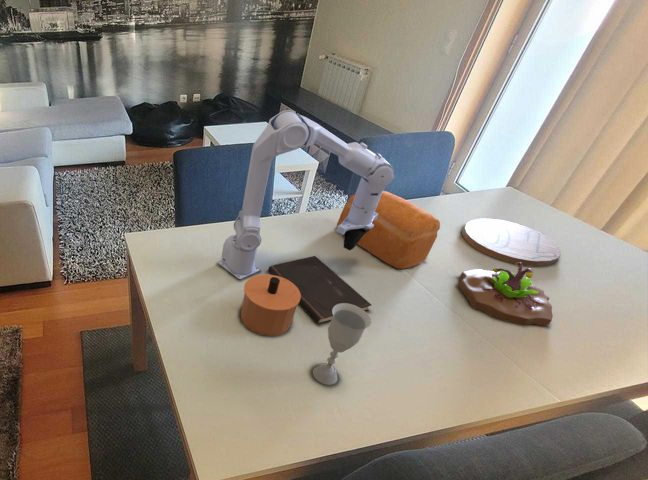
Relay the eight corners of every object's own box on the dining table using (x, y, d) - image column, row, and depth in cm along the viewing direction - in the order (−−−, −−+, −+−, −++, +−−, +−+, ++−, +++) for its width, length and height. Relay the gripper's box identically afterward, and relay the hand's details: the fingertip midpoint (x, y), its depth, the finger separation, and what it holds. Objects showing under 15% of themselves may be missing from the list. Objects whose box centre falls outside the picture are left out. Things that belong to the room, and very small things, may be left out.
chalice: (303, 363, 90) (325, 304, 79) (332, 361, 91) (358, 302, 79) (317, 390, 84) (343, 330, 73) (347, 387, 85) (378, 328, 74)
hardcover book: (313, 261, 120) (315, 255, 119) (368, 311, 103) (371, 304, 102) (267, 272, 116) (268, 265, 115) (317, 325, 99) (319, 318, 98)
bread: (396, 272, 116) (419, 225, 106) (331, 229, 135) (345, 186, 125) (429, 261, 120) (454, 215, 110) (361, 221, 139) (377, 178, 129)
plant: (468, 314, 102) (491, 280, 95) (451, 270, 117) (471, 238, 110) (562, 333, 97) (595, 299, 90) (533, 285, 111) (559, 252, 104)
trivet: (551, 236, 131) (555, 231, 130) (562, 276, 115) (567, 271, 114) (462, 216, 142) (465, 211, 140) (461, 250, 125) (464, 245, 124)
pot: (230, 312, 103) (235, 287, 98) (265, 296, 108) (271, 271, 103) (265, 343, 95) (272, 317, 89) (301, 323, 100) (309, 298, 95)
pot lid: (232, 289, 98) (234, 274, 95) (270, 271, 104) (274, 257, 101) (272, 321, 89) (276, 306, 86) (311, 300, 95) (316, 285, 92)
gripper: (360, 218, 97) (343, 263, 106) (395, 203, 103) (376, 247, 112) (336, 207, 102) (321, 250, 110) (370, 193, 108) (354, 235, 116)
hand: (348, 248), depth 111 cm, fingers closed
